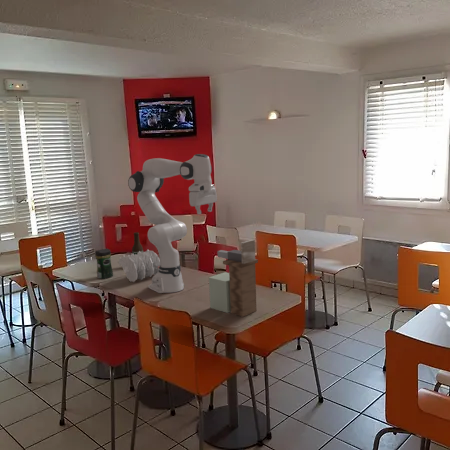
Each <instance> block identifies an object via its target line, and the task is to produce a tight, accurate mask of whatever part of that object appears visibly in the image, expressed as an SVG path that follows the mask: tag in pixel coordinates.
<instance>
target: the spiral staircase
mask: <svg viewBox="0 0 450 450" xmlns="http://www.w3.org/2000/svg"><path fill="white" fill-rule="evenodd" d="M117 264H118V265H119V266H121V268H122V270H123V272H124V273H125V275H126V276H125V277H126V278H127V279H128V280H129V281H130V282H133V283H135V282H136V280H140V281H143V280H144V279H145V278H149V277H150V278H151V277H153V276H155V275H156V274H157V273H158V272H159V267H158V266H160V257H159V254H157V253H156V252H154V250H149V249H147V250H146V251H143V252H140V251H139V252H138V253H137V255H136V254H135V255H134V254H132V253H131V254H127V255H126V256H125V254H123V255H122V256H121V257H120V256H119V257H118V261H117Z"/></svg>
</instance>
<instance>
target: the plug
mask: <svg viewBox="0 0 450 450" xmlns="http://www.w3.org/2000/svg"><path fill="white" fill-rule="evenodd" d="M216 252H217V258H221V259H226V260H232V261H237V262H242V255H241V250H238V249H232V250H228V251H227V250H223V249H220V250H217V251H216Z"/></svg>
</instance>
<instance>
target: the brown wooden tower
mask: <svg viewBox="0 0 450 450" xmlns="http://www.w3.org/2000/svg"><path fill="white" fill-rule="evenodd" d="M255 242H256V241H255V239H250V240H246V241H242V242H240V247H241V249H240V251H241V255H242V262H237V261H232V260H228V259H226V260H223V261H222V264H223V265H225V266H228V273H229V279H230V303H231V312H230V314H232V315H236V316H239V317H246V316H248V315H251V314H253V313H255V312H257V310H258V309H257V285H256V284H257V281H256V278H257V277H256V264H257V263H258V262H259V259H257V258H256V244H255Z"/></svg>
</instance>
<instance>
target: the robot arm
mask: <svg viewBox="0 0 450 450" xmlns="http://www.w3.org/2000/svg"><path fill="white" fill-rule="evenodd" d="M212 171H213V168H212V164H211V158H210V157H209V155H208V154H204V153H196V154H194V155H193V157H192V158H190V159H189V160H186V161H183V162H182V161H176V160H173V159H172V160H171V159H166V158H161V157H157V158H155V157H154V158H150V159H147V160H145V161H144V162H143V165H142V170H137V171H135V173H133V174H131V175H130V176H129V177H128V180H127V184H128V185H127V186H128V187H129V189H130V191H131V192H134V193H138V194H137V197H136V199H137V203H138V205H139V207H140V209H141V211H142V212H143V215H145V217H146V219H147V220H148V222H150V223H151V224H153V225H154V226H152V227H150V228H149V229H148V231H147V238H148V241H149V243H151V244H152V245H154V246H155V248H156V249H157V252H158V257H159V260H160V266H158V267H159V272H158V273H157V274H156V275H152V278H151V283H150V284H148V286H147V288H148V289H150V290H152V291H154V292H156V293H157V294H162V293H163V294H164V293H166V294H167V293H171V294H172V293H176V292H180V291H183V290H184V288H185V287H184V286H185V283H184V281H183V275H182V274H183V273H182V272H181V271H182V269H181V268H182V267H181V264H180V253H179V250H177V249H176V248H174V247H173V245H172V242H174V241H179V240H181V239H183V238H185V237H186V236H187V233H188V228H187V225H186V223H185V222H183V221H181V220H178V219H177V218H174V217H173V216H172V215H171V214H169V213H168V212H167V211H166V209H165V208H164V206H163V205H162V203H161V202H160V201H159V199H158V198H157V196H156V193H159V192H160V189H161V188H162V187H163V185H164V183H165V179H166V178H172V177H175V176H181V178H183V179H184V180H187V181H190V180H191V181H192V180H193V181H194V183H192V184H191V185H190V186H189V187H188V192H189V193H188V200H189V205H190V207H195V210H196V214H197V215H202V214H203V213H202V210H201V206H204V205H208V208H207V212H209V213H211V212H213V206H214V203H217V202H218V194H217V189H216V186H215V184H212V183H213V181H212V176H211V174H212V173H213V172H212Z"/></svg>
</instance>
